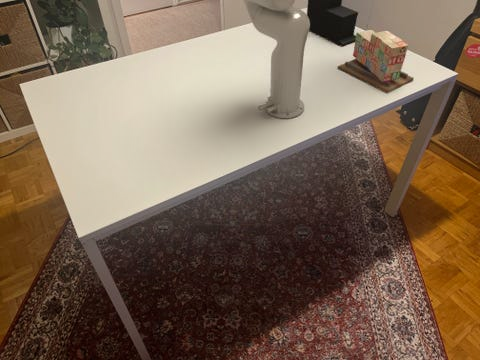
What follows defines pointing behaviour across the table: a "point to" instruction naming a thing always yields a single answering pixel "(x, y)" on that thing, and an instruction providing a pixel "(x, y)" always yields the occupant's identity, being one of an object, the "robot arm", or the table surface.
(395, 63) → the stack of blocks
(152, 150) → the table surface
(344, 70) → the slot board
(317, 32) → the bookend
